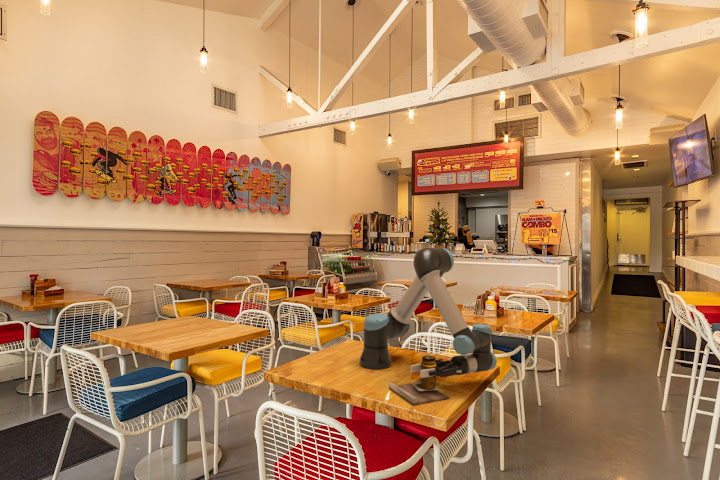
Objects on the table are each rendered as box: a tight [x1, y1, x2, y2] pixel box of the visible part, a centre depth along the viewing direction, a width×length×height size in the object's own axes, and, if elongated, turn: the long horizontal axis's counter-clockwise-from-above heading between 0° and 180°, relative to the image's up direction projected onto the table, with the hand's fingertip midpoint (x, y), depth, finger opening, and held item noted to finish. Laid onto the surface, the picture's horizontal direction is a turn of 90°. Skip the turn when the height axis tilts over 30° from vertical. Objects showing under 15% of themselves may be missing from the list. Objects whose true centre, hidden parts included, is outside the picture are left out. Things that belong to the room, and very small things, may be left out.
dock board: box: [388, 381, 450, 406], centre depth 154 cm, size 16×18×2 cm
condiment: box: [413, 354, 440, 391], centre depth 156 cm, size 7×8×12 cm
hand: (415, 371), depth 153 cm, fingers closed on condiment, 6 cm apart
